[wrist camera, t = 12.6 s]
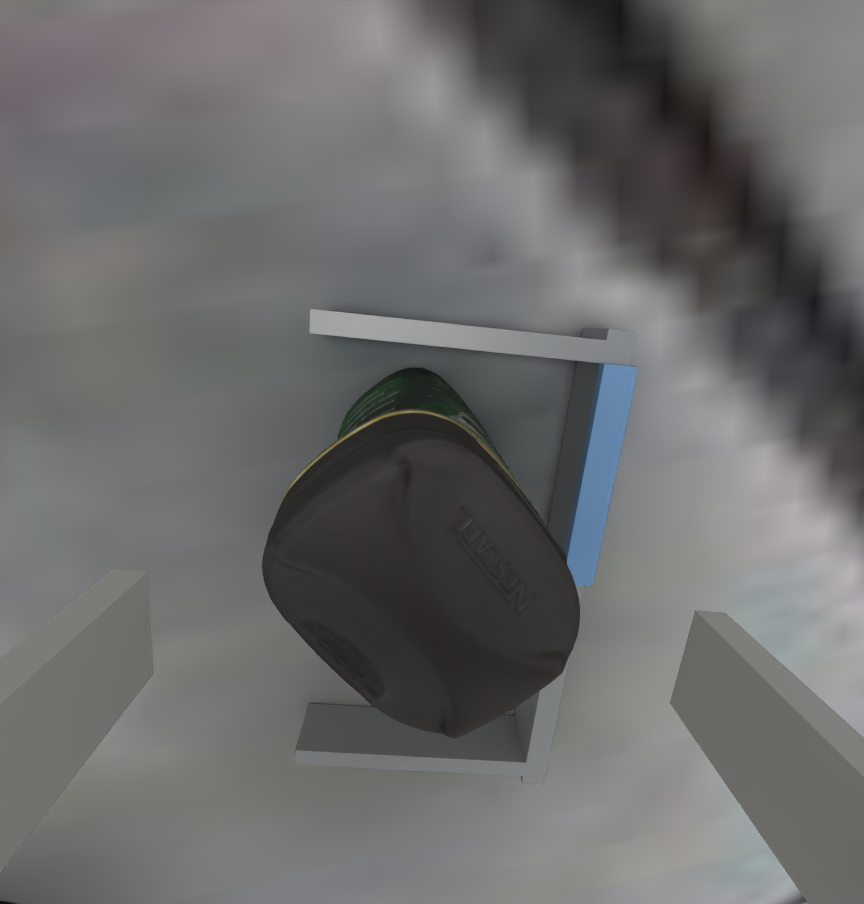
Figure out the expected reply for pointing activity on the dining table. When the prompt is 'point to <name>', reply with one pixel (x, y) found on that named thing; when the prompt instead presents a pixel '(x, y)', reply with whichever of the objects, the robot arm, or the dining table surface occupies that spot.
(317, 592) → the coffee jar
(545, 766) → the divided storage rack
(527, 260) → the dining table surface
